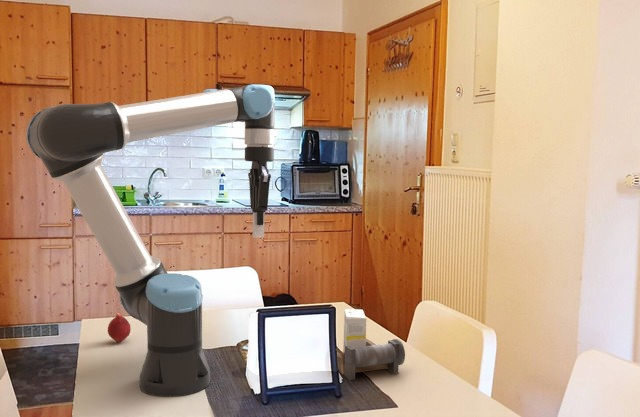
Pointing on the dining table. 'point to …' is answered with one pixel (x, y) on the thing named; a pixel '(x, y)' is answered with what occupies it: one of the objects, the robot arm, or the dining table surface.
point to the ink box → (354, 328)
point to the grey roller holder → (371, 358)
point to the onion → (119, 328)
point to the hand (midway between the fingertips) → (258, 237)
